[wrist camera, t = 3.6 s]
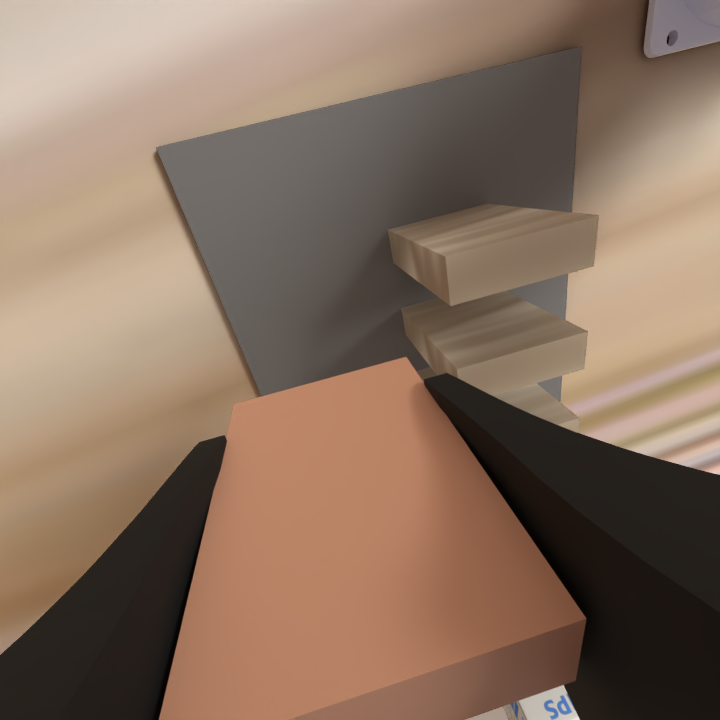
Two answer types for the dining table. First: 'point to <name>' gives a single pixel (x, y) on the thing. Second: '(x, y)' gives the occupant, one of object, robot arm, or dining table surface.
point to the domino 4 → (532, 403)
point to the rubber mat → (368, 208)
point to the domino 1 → (364, 568)
